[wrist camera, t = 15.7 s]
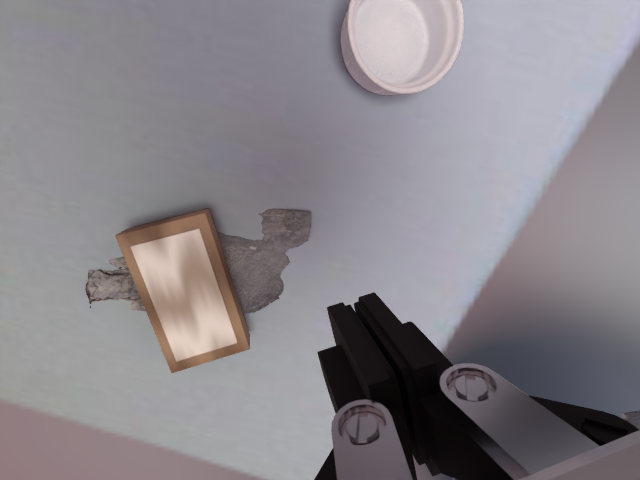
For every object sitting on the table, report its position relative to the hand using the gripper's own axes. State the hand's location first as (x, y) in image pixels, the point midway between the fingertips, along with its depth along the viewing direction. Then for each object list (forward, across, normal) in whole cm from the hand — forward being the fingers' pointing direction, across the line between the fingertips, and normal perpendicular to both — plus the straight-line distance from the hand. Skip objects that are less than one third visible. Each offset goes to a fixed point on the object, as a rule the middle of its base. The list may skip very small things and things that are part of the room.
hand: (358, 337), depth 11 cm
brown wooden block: (+18, +6, +3) cm, 19 cm away
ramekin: (+20, -12, -12) cm, 26 cm away
